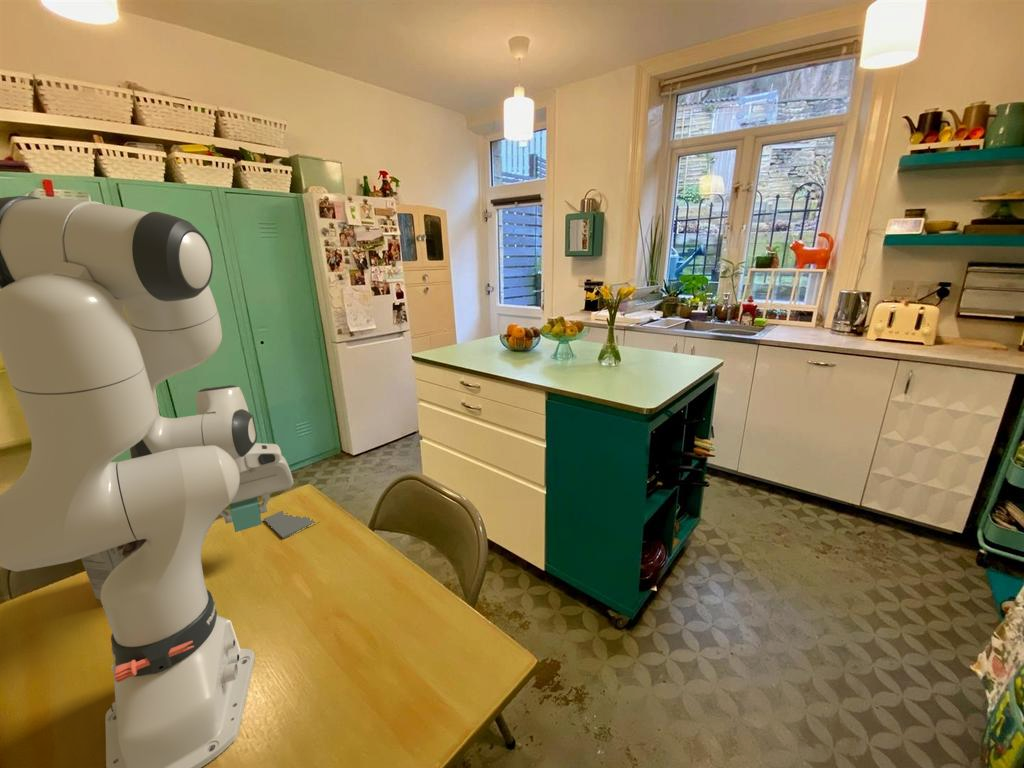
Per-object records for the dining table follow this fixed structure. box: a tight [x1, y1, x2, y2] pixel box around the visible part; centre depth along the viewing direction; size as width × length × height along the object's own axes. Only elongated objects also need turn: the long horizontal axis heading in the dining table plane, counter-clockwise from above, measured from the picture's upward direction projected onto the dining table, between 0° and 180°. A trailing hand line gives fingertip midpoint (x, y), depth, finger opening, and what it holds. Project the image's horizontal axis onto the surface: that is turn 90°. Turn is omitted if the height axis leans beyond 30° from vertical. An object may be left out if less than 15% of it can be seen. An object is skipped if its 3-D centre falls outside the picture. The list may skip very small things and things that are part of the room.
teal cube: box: [229, 497, 263, 533], centre depth 93 cm, size 5×5×5 cm
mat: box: [263, 510, 315, 539], centre depth 109 cm, size 12×9×1 cm
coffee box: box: [80, 539, 147, 601], centre depth 86 cm, size 9×6×16 cm
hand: (247, 516), depth 93 cm, fingers closed on teal cube, 5 cm apart
